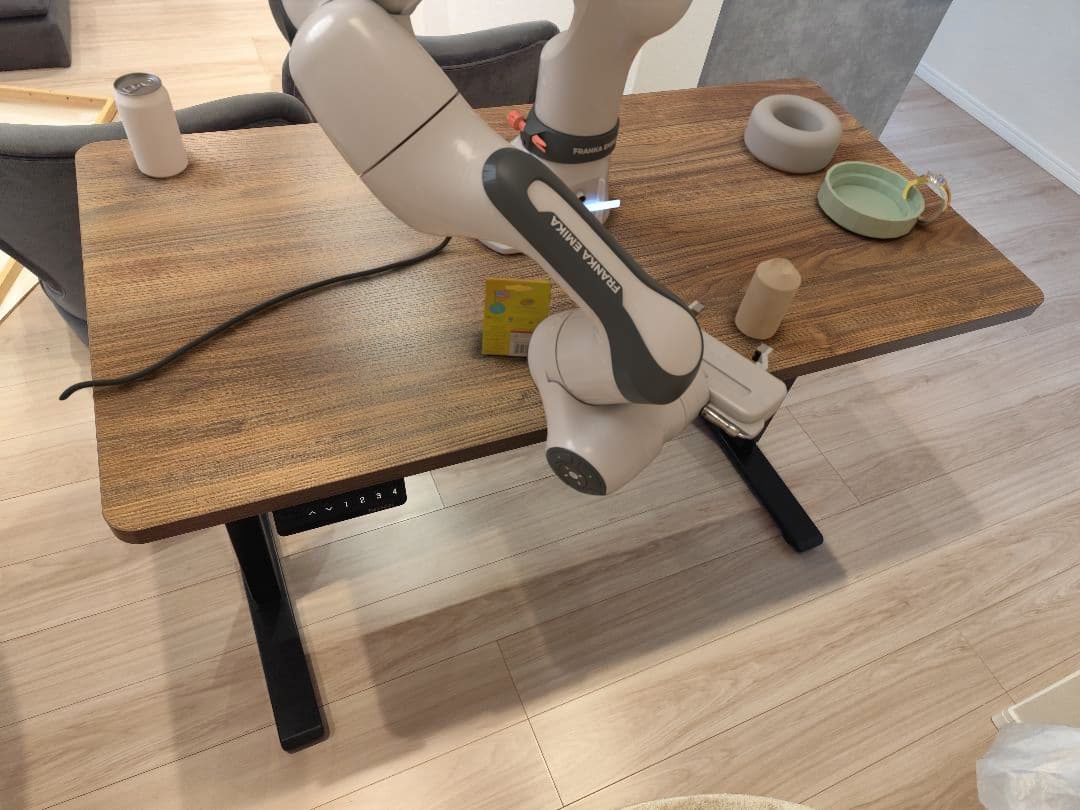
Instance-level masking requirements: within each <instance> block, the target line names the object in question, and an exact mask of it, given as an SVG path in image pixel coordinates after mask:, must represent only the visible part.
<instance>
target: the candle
mask: <svg viewBox="0 0 1080 810" xmlns="http://www.w3.org/2000/svg"><path fill="white" fill-rule="evenodd" d="M801 284H802V276H801V275H800V272H798V270H797V268H796V267H795V266H794V265H793V264H792V262H791V261H790V260H789V259H788V258H782V257H776V258H772V259H767V260H763V261H761V262H760V263H759V264H757V267H756V269H755V271H754V273H753V276H752V278H751V280H750V282H749V285H748V287H747V290H746V291H745V295H744V296H743V298H742V300H741V303H740V305H739V307H738V310H737V312H736V315H735V317H734V323H735V326H736V327H737V329H738V331H740V332H741V333H742V334H743V335H745V336H747V337H749V338H752V339H755V340H768V339H770V338H772V337H773V336H775V334H776V333H777V331H778V329H779V327H780V325H781V323H782V321H783V319H784V318H785V315H786V314H787V311H788V310H789V308H790V305H791V303H792V302H793V299H794V298H795V296H796V294H797V291H798V290H799V288H800V286H801Z"/></svg>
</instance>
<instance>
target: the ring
mask: <svg viewBox="0 0 1080 810" xmlns="http://www.w3.org/2000/svg"><path fill="white" fill-rule="evenodd" d="M909 181H910V182H909V183H908V184H907V185H906V187H905V189H904V192H903V200H904V199H906V200H907V199H909V197H910V192H911V190H912V188H913V187H914V185H915V186H916V185H917V184H918V185H919V184H925V185H927V184H930V185H932V186H933V187H934V188H936V189H937V190H938V191H939V193H940V195H941V203H940V207H939V209H938V211H937V212H936V213H935V214H934V215H933V216H931V217H923V216H922V215H921V216H920V218H919V219H918V221H917V222H916V223H920V224H925V223H932V222H934V221H936V220H938V219H940V218H942V216H943V215H945V213H946V212H947V211H948V209H949V207H950V206H951V201H952V193H951V189H950V187H949V185H948V179H947V177H945V174H944V173H940V172H939V171H938V172H935V173H934V172H932V171H931V170H927V173H925V174H924V173H923V174H921V175H918V176H917V177H915V178H913V179H912V180H909Z"/></svg>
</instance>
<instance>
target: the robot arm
mask: <svg viewBox="0 0 1080 810" xmlns="http://www.w3.org/2000/svg"><path fill="white" fill-rule="evenodd" d="M267 1H268V6H269V10H270V12H271V15H272V17H273V19H274V22H275V24H276V26H277V28H278V30H279V31H280V33H281V35H282V36H283V38H284V39H285V41H286V42H287V43H288V46H289V48H290V49H289V54H288V66H289V72H290V76H291V79H292V82H293V84H294V85H295V87H296V89H297V91H298V92H299V94H300V96H301V97H302V99H303V101H304V102H305V104H306V106H307V107H308V109H309V111H310V113H311V114H312V116H313V117H314V119H315V120H316V123H318V125H319V126H320V128H321V129H322V131H323V132H324V134H325V135H326V137H327V138H328V139H329V141H330V142H331V144H332V145H333V147H334V148H335V149H336V151H337V152H338V153H339V155H340V156H341V157H342V158H343V160H344V161H345V162H346V163H347V165H348V166H349V167H350V168H351V170H352V171H353V172H354V173H355V174H356V177H357V176H359V177H358V178H359V180H361V182H362V183H363V184H364V185H365V187H366V188H367V189H368V190H369V191H370V193H371V194H372V195H373V196H374V197H375V198H376V199H377V201H378V202H380V204H381V205H382V206H383V207H384V208H385V209H386V210H387V211H389V212H390V213H391V214H392V215H394V216H395V217H396V218H397V219H399V220H400V221H401V223H403V224H405V225H406V226H407V227H409V228H410V229H412V230H413V231H416V232H418V233H422V234H426V235H429V236H435V237H444V239H443V241H442V242H441V243H440V244H439V245H438V246H436V247H434V248H433V249H431V250H430V251H427V252H426V253H424V254H422V255H419V256H416V257H412V258H410V259H406V260H401V261H396V262H393V263H390V264H386V265H382V266H379V267H375V268H371V269H367V270H366V269H365V270H362V271H357V272H353V273H347V274H343V275H339V276H338V275H337V276H335V277H330V278H327V279H324V280H320V281H317V282H314V283H311V284H308V285H305V286H302V287H299V288H296V289H294V290H291V291H288V292H286V293H283V294H281V295H279V296H276V297H274V298H271V299H269V300H267V301H265V302H262V303H261V304H258V305H256V306H254V307H252V308H249V309H247V310H246V311H244V312H242V313H240V314H238V315H237V316H234V317H233V318H231V319H229V320H227V321H225V322H224V323H222V324H220V325H218V326H216V327H215V328H213V329H211V330H209V331H208V332H205V334H202V335H201V336H199V337H197V338H195V339H194V340H192V341H190V342H189V343H186V344H185V345H184V346H182V347H180V348H179V349H177V350H175V351H174V352H172V353H171V354H169V355H168V356H166V357H165V358H162V359H161V360H160V361H157V362H156V363H154V364H152V365H150V366H148V367H146V368H144V369H142V370H140V371H136V372H135V373H132V374H130V375H127V376H124V377H118V378H110V379H97V380H96V379H94V380H85V381H80V382H77V383H74V384H72V385H70V386H69V387H67V388H66V389H65V390H63V392H61V394H60V396H59V397H58V400H59V401H65V400H67V399H68V398H70V397H71V396H72V395H73V394H74V393H76V392H77V391H80V390H83V389H89V388H99V387H111V386H112V387H113V386H121V385H125V384H128V383H132V382H135V381H137V380H140V379H143V378H145V377H147V376H149V375H150V374H152V373H155V372H157V371H158V370H161V369H162V368H163V367H165V366H167V365H169V364H170V363H173V361H175V360H177V359H178V358H179V357H181V356H183V355H184V354H186V353H188V352H189V351H191V350H192V349H194V348H195V347H197V346H199V345H201V344H203V343H205V342H206V341H208V340H210V339H212V338H214V337H215V336H217V335H219V334H220V333H222V332H224V331H226V330H228V329H229V328H230V327H232V326H234V325H236V324H238V323H240V322H242V321H244V320H245V319H247V318H249V317H251V316H253V315H255V314H257V313H259V312H261V311H264V310H266V309H268V308H270V307H272V306H275V305H277V304H280V303H281V302H283V301H286V300H289V299H291V298H293V297H296V296H299V295H302V294H305V293H307V292H311V291H314V290H317V289H320V288H323V287H327V286H330V285H333V284H336V283H337V284H338V283H341V282H345V281H348V280H354V279H355V280H356V279H358V278H359V279H360V278H365V277H369V276H373V275H376V274H380V273H383V272H384V273H385V272H387V271H391V270H395V269H399V268H402V267H406V266H407V267H408V266H411V265H414V264H417V263H420V262H423V261H425V260H428V259H429V258H431V257H433V256H435V255H437V254H438V253H440V252H441V251H442V250H444V249H445V248H447V246H448V244H449V243H450V241H451V240H452V238H468V239H475V240H476V239H477V240H478V241H479V242H480V243H482V244H483V246H486V247H487V248H489V249H490V250H492V251H494V252H497V253H499V254H501V255H511V254H512V255H513V254H520V253H522V254H524V255H526V256H527V257H528V258H530V259H531V260H533V261H534V263H536V264H537V265H539V267H540V268H541V269H542V270H543V271H544V272H545V273H546V274H547V276H549V277H550V278H551V279H552V280H553V281H554V282H555V283H556V284H557V286H559V287H560V289H561V290H563V292H564V293H565V294H566V295H567V296H568V297H569V299H571V301H573V302H574V303H575V305H577V306H578V307H576V308H571V309H567V310H564V311H559V312H557V313H552V314H548V316H547V317H545V318H544V319H543V320H542V321H540V322H539V324H538V325H537V326H536V328H535V329H534V331H533V333H532V335H531V337H530V340H529V344H528V348H527V356H526V365H527V371H528V374H529V377H530V379H531V381H532V383H533V385H534V387H535V388H536V390H537V391H538V393H539V397H540V398H541V403H542V407H543V410H544V414H545V418H546V426H547V435H546V442H545V447H544V454H545V455H544V456H545V458H546V461H547V464H548V466H549V467H550V469H551V471H552V472H553V474H554V475H556V477H557V478H558V479H559V480H560V481H561V482H563V484H565V485H566V486H569V488H571V489H573V490H575V492H578V493H581V494H585V495H589V496H598V497H599V496H600V497H604V496H608V495H611V494H613V493H616V492H617V491H618V490H620V489H621V488H623V487H624V486H626V485H627V484H629V483H630V482H631V481H633V479H635V478H636V477H637V476H638V475H640V474H641V473H642V472H643V471H644V470H645V469H647V467H649V465H650V464H652V463H653V461H655V459H657V457H658V456H659V455H660V453H661V452H662V449H663V447H664V445H665V444H666V443H668V442H669V441H672V440H674V439H675V438H677V437H678V436H679V435H681V434H682V433H683V432H684V431H685V430H686V428H688V426H690V425H691V423H693V422H694V421H695V420H696V419H697V418H698V417H699V416H701V417H702V418H704V419H705V420H706V421H708V422H709V423H711V424H713V425H715V426H717V427H718V428H720V429H721V430H723V431H724V433H725V434H726V435H728V436H729V437H732V438H734V439H735V438H737V437H738V438H741V439H744V440H753V439H754V438H756V437H757V436H758V435H759V434H760V433H761V432H762V430H763V429H764V428H765V423H766V422H767V421H768V420H769V419H770V418H771V417H773V416H774V415H775V413H777V412H778V410H779V409H780V408H781V406H782V404H783V403H784V402H785V399H786V397H787V396H788V389H787V384H785V382H783V381H782V380H780V379H779V378H778V377H776V376H774V375H773V374H771V373H770V372H768V370H769V359H770V358H771V356H772V354H773V352H774V348H772V346H771V347H770V346H769V345H767V344H765V343H764V342H762V343H761V344H760V345H758V347H756V349H755V351H754V353H753V355H752V357H751V359H750V360H749V359H748V358H747V357H745V356H743V355H742V354H740V353H739V352H738V351H736V350H734V349H732V348H731V347H729V346H728V345H727V344H725V343H723V342H722V341H720V340H719V339H717V338H715V337H714V336H712V335H711V334H710V333H708V332H706V331H705V330H703V329H702V328H701V326H700V323H699V321H698V320H700V319H701V318H702V316H703V315H704V313H705V310H706V308H707V306H705V305H704V304H703V303H701V302H699V300H697V299H696V300H693V301H692V303H690V304H689V305H687V304H686V303H685V301H684V300H683V299H682V298H681V297H680V296H678V295H677V294H676V293H675V292H673V291H672V290H671V289H669V288H668V287H667V286H665V285H663V284H662V283H660V282H659V281H657V280H656V279H655V278H653V277H652V276H651V275H650V274H649V273H648V272H647V271H646V270H645V269H644V268H643V267H642V266H641V265H640V264H639V263H638V262H637V261H636V259H634V258H633V257H632V255H631V254H630V253H629V252H628V251H627V250H626V249H625V248H624V247H623V246H622V244H621V243H620V242H619V241H618V240H617V239H616V238H615V237H614V236H613V234H612V233H611V232H610V231H609V230H608V229H607V228H606V226H604V224H605V223H606V221H607V220H608V218H609V215H610V213H611V209H612V208H618V207H620V203H621V200H620V199H616V200H610V196H609V195H610V193H609V184H610V183H609V181H610V180H609V178H610V168H611V167H610V166H611V159H612V153H613V152H614V150H615V149H616V145H617V142H618V136H619V130H620V124H621V118H620V116H619V114H620V109H621V106H622V105H621V104H622V100H623V97H624V93H625V88H626V85H627V80H628V76H629V72H630V70H631V67H632V66H633V62H634V61H635V59H636V57H637V55H638V53H639V52H640V50H641V49H642V48H643V46H645V44H646V43H647V42H648V41H650V40H651V39H654V38H656V37H659V36H661V35H663V34H664V33H665V34H666V32H668V31H670V30H671V29H672V28H673V27H675V26H676V25H677V24H678V23H679V22H680V21H681V19H683V17H684V16H685V15H686V13H687V12H688V10H689V9H690V7H691V5H692V4H693V1H694V0H572V1H573V2H572V3H573V14H572V18H571V21H570V25H569V26H568V29H565V30H562V31H560V32H559V33H557V34H555V35H554V36H552V37H551V38H550V39H549V40H548V41H547V42H546V43H545V44H544V45H543V48H542V49H541V52H540V57H539V66H538V74H537V83H536V92H535V102H533V104H532V106H531V107H530V110H529V111H528V114H527V116H526V118H525V116H523V115H522V113H520V112H519V110H517V109H512V110H511V111H510V112H508V114H507V115H506V122H507V124H508V125H509V126H511V127H512V129H513V130H514V131H518V132H519V131H520V132H519V134H518V135H517V136H515V137H514V138H513V139H512V140H511V141H510V142H509V141H508V140H506V139H505V138H504V137H502V135H500V134H499V133H497V131H495V129H493V128H492V127H491V126H490V125H489V124H488V123H487V122H486V121H485V120H484V119H483V118H482V117H481V116H480V115H479V114H478V113H477V112H476V111H475V110H474V108H473V107H472V106H471V105H470V104H469V103H468V101H467V100H466V98H464V96H463V95H462V94H461V93H460V92H458V91H459V90H458V88H457V87H456V86H455V84H454V83H453V82H452V80H451V79H450V78H449V76H448V75H447V74H446V73H445V72H444V70H443V69H442V68H441V67H440V65H439V64H438V63H437V62H436V61H435V59H434V58H433V57H432V56H431V55H430V54H429V52H427V50H426V49H425V48H424V47H423V45H421V43H419V41H418V39H417V37H416V34H415V31H414V28H413V23H412V20H411V16H412V14H414V12H415V11H416V9H417V7H418V6H419V5H420V3H421V2H422V1H423V0H267ZM751 360H752V361H751ZM93 386H94V387H93Z"/></svg>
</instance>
